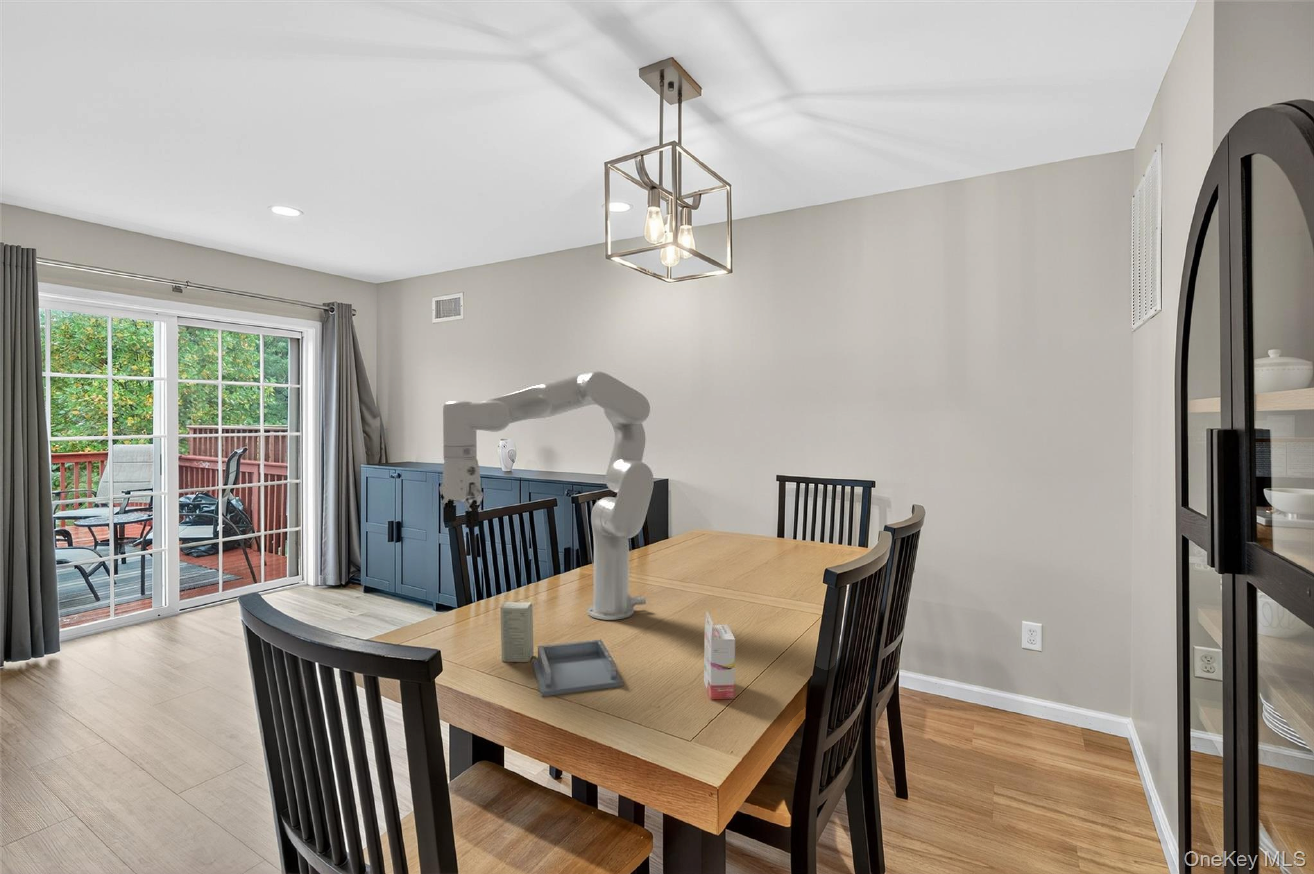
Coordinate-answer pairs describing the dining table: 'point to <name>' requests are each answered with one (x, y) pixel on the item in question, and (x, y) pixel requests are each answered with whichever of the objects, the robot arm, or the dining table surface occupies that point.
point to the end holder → (575, 668)
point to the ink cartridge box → (719, 660)
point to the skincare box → (517, 631)
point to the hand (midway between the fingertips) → (460, 524)
